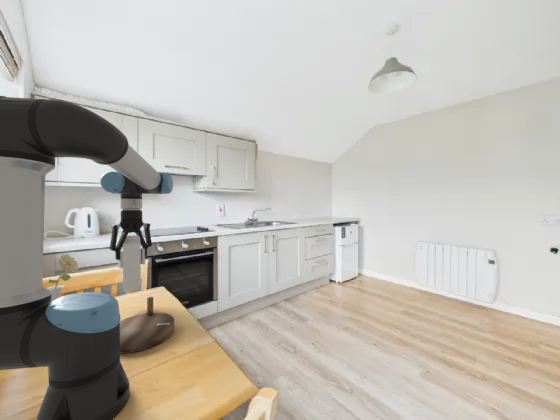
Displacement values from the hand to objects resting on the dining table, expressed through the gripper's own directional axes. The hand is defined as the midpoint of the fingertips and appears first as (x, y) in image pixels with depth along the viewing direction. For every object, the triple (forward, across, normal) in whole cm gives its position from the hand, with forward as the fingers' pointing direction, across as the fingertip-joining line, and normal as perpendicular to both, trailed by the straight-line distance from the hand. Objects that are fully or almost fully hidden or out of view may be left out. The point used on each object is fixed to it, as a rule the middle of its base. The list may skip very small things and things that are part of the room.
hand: (131, 265), depth 99 cm
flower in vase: (+18, -22, +6) cm, 29 cm away
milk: (+10, 0, 0) cm, 10 cm away
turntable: (+18, -6, -24) cm, 30 cm away
